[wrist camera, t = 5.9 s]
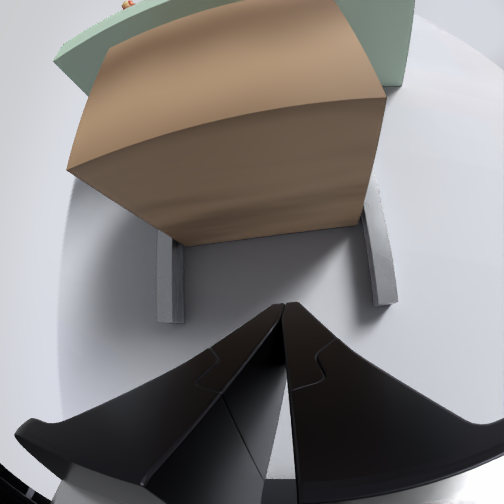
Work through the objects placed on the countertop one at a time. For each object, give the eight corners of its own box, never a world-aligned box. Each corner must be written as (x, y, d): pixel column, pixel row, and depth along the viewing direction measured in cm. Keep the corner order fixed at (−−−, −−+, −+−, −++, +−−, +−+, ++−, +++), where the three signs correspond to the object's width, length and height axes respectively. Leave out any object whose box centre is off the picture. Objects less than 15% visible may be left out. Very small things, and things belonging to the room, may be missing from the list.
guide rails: (391, 304, 14) (398, 301, 13) (169, 323, 17) (156, 322, 16) (342, 88, 18) (342, 74, 17) (177, 119, 21) (169, 108, 20)
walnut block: (357, 224, 16) (386, 97, 6) (186, 246, 18) (66, 170, 8) (335, 124, 18) (326, -11, 8) (189, 150, 20) (108, 48, 10)
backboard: (402, 85, 17) (417, -28, 8) (127, 135, 22) (53, 61, 13) (393, 68, 18) (402, -39, 9) (131, 118, 23) (63, 44, 13)
